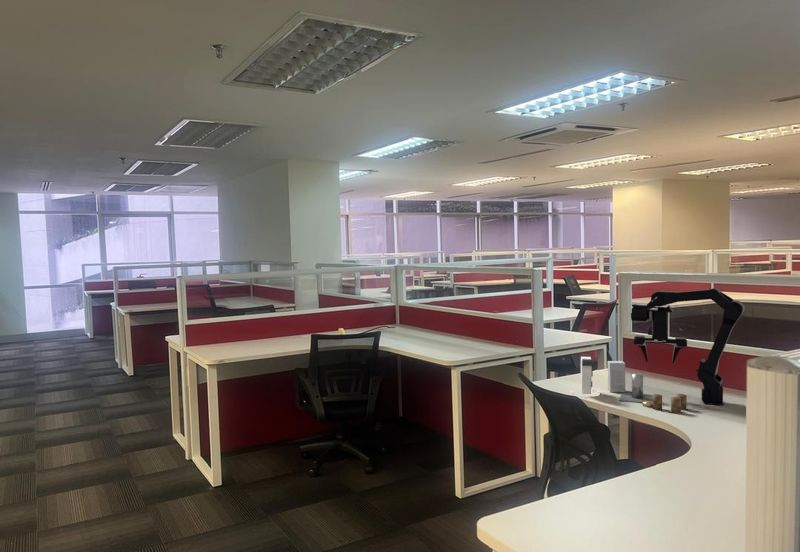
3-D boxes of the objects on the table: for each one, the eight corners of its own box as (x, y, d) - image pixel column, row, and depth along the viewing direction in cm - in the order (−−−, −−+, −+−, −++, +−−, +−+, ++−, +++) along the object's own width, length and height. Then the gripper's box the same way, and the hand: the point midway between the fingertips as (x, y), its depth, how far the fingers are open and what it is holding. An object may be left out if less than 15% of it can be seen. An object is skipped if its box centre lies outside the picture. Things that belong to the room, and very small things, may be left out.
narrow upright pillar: (602, 398, 223) (602, 360, 222) (571, 396, 226) (571, 359, 225) (599, 390, 234) (599, 354, 233) (570, 389, 237) (570, 353, 236)
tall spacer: (644, 396, 222) (644, 373, 221) (641, 399, 219) (641, 376, 218) (633, 395, 224) (633, 372, 224) (630, 397, 221) (630, 374, 220)
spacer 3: (686, 407, 208) (686, 394, 208) (686, 410, 205) (686, 396, 205) (676, 407, 209) (676, 393, 209) (676, 409, 206) (676, 395, 206)
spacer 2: (680, 411, 204) (680, 397, 204) (681, 413, 201) (681, 399, 201) (670, 410, 206) (670, 396, 205) (671, 412, 203) (671, 398, 202)
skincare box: (622, 389, 235) (622, 360, 234) (625, 392, 230) (625, 362, 230) (607, 389, 235) (607, 360, 235) (610, 392, 231) (610, 362, 230)
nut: (654, 405, 213) (654, 401, 213) (654, 408, 209) (654, 404, 209) (642, 404, 214) (642, 400, 214) (642, 407, 211) (642, 403, 211)
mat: (654, 395, 225) (654, 394, 225) (654, 404, 214) (654, 403, 214) (621, 393, 229) (621, 392, 229) (619, 401, 218) (619, 400, 218)
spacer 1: (662, 408, 209) (662, 394, 208) (662, 410, 206) (662, 396, 205) (652, 407, 210) (652, 393, 210) (652, 409, 207) (652, 395, 207)
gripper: (685, 321, 227) (685, 360, 228) (634, 319, 234) (634, 357, 235) (687, 325, 216) (687, 366, 217) (633, 323, 224) (633, 362, 225)
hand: (659, 362), depth 224 cm, fingers open, 9 cm apart
